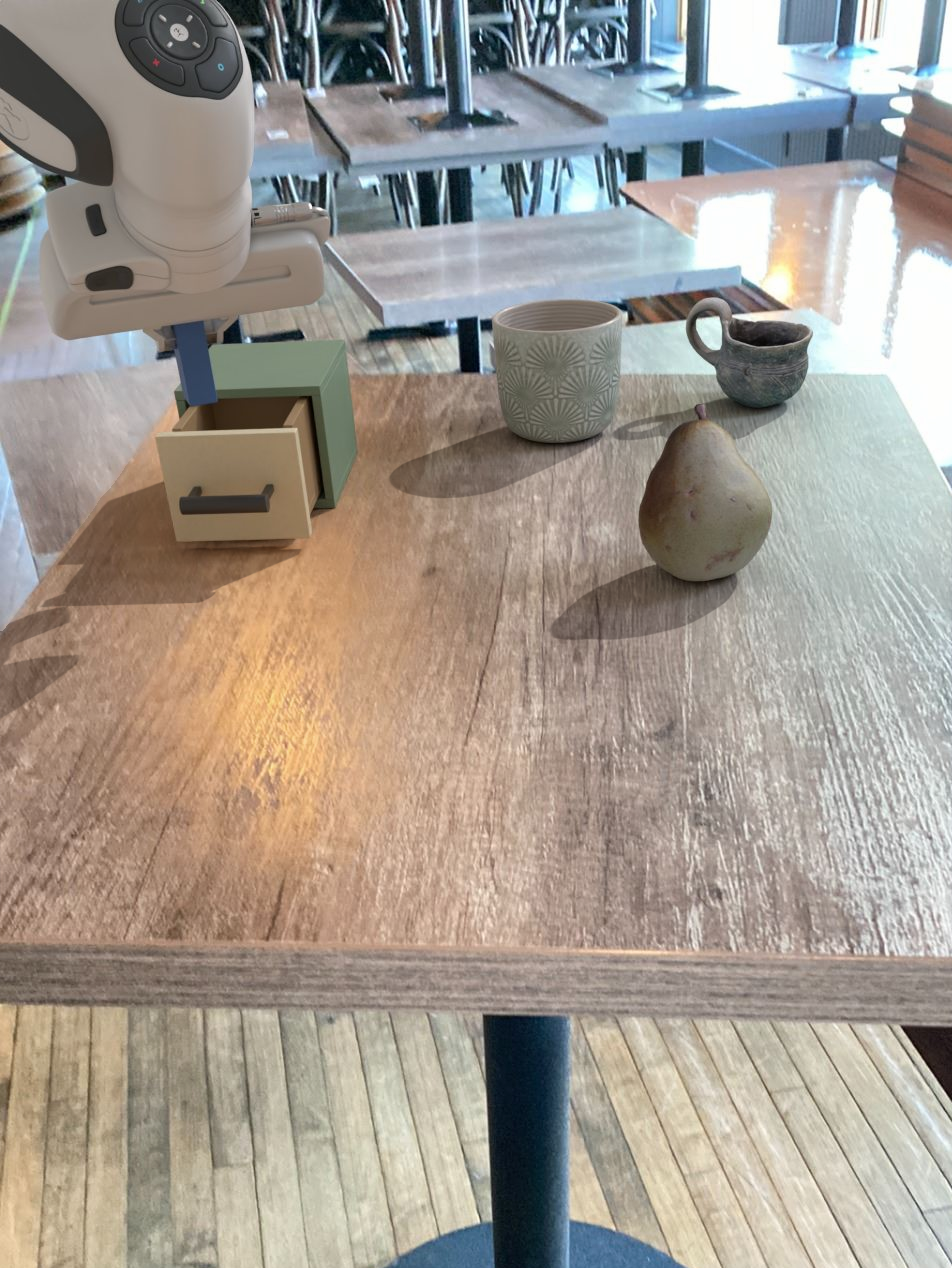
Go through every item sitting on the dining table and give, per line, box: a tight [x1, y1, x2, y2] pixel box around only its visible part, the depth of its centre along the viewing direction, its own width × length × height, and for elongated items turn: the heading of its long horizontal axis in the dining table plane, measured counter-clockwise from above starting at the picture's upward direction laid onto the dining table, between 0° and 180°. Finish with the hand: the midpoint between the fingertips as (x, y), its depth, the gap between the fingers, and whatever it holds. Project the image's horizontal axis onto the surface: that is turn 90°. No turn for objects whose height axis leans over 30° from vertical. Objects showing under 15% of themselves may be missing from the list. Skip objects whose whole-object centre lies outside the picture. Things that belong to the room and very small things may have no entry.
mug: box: [685, 297, 814, 408], centre depth 133 cm, size 10×12×10 cm
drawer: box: [154, 396, 324, 543], centre depth 112 cm, size 18×11×9 cm, turn 177°
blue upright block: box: [173, 321, 218, 407], centre depth 103 cm, size 2×4×8 cm, turn 21°
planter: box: [491, 298, 623, 444], centre depth 129 cm, size 12×12×11 cm
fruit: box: [637, 403, 773, 582], centre depth 100 cm, size 10×9×12 cm
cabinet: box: [173, 339, 359, 509], centre depth 121 cm, size 15×13×11 cm
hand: (187, 339), depth 103 cm, fingers closed on blue upright block, 2 cm apart
